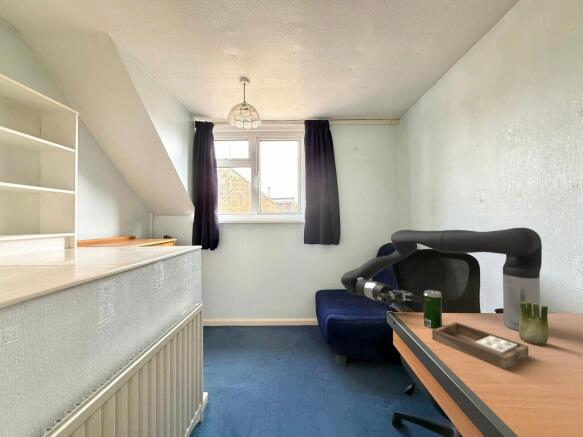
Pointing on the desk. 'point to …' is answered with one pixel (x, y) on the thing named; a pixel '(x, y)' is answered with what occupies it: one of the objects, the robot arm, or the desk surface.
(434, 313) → the beer can
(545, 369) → the desk surface
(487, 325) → the desk surface
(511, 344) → the egg carton
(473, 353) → the crate
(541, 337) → the fennel bulb
